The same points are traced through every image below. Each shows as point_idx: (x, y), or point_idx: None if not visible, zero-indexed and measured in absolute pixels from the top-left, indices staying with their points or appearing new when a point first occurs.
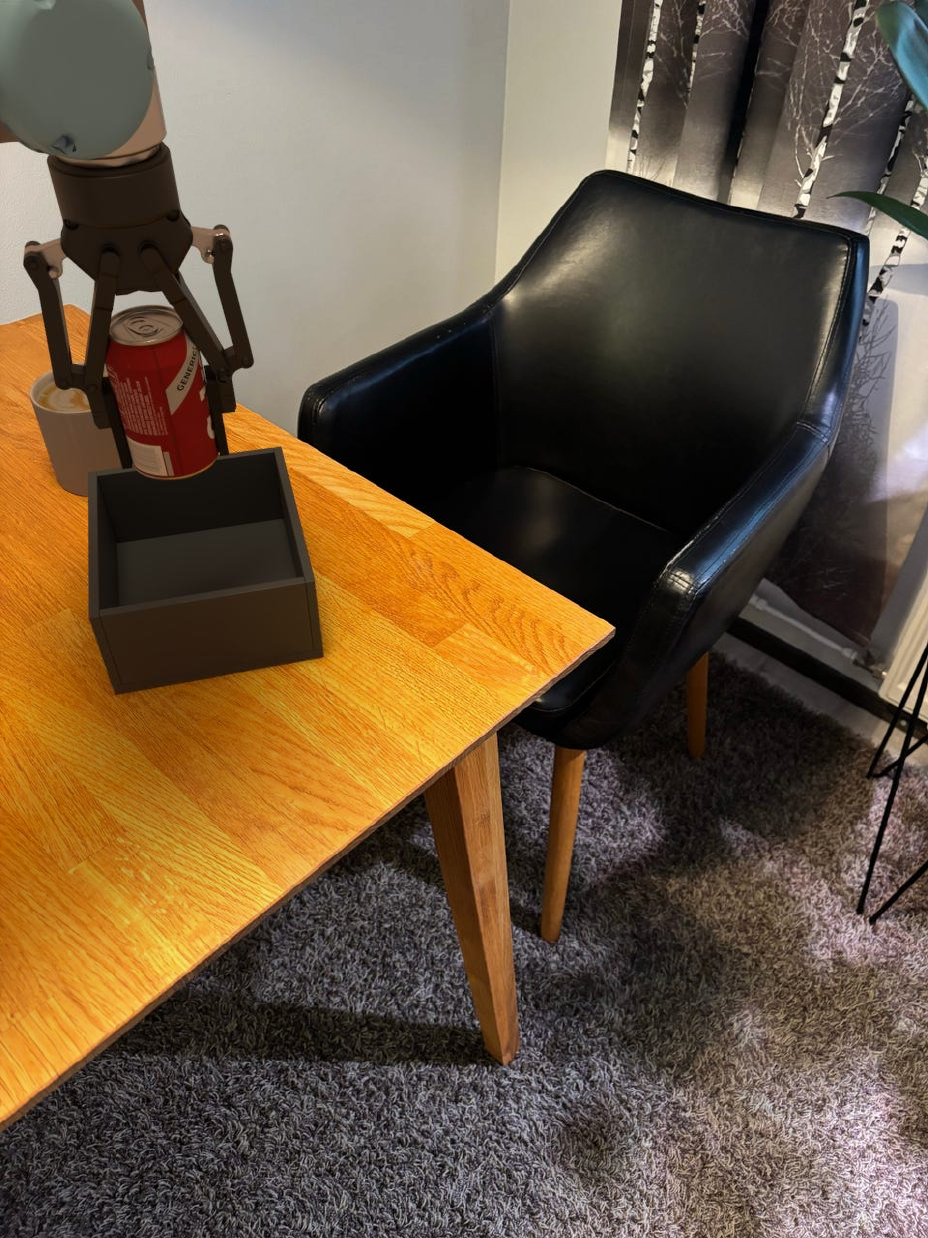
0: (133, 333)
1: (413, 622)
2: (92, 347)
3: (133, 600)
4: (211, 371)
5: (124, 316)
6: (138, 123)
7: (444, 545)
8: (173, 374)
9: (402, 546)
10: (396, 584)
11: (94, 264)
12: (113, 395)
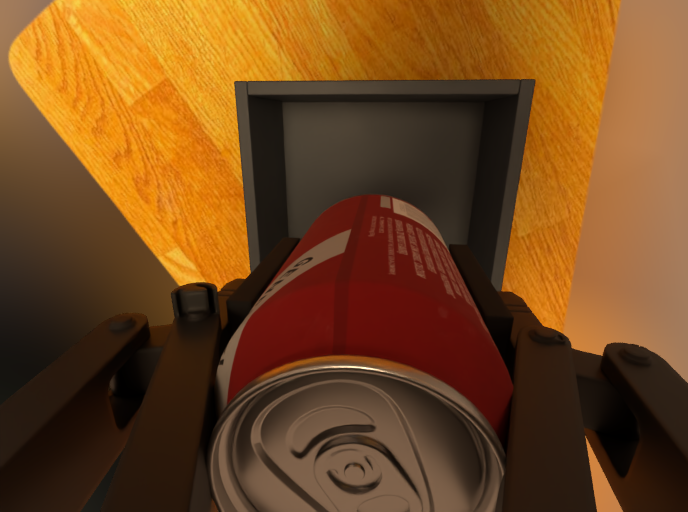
0: (404, 458)
1: (182, 121)
2: (567, 426)
3: (455, 220)
4: None
5: None
6: None
7: (143, 226)
8: (305, 275)
9: (183, 236)
10: (194, 182)
11: None
12: (484, 314)
